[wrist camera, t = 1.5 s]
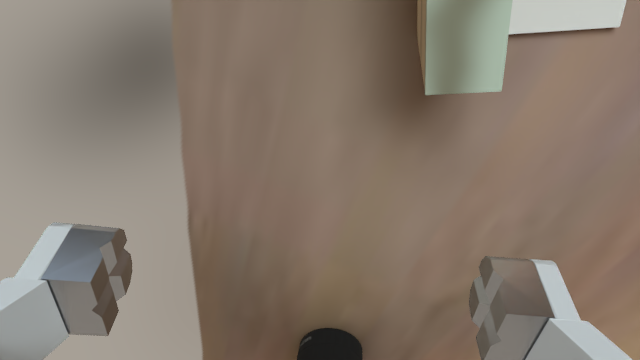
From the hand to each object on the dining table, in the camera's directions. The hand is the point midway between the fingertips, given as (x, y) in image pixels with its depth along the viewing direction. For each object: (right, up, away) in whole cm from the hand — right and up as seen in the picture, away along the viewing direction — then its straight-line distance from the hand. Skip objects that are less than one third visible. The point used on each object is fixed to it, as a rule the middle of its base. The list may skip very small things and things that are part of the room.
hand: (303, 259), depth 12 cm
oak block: (+10, +19, +27) cm, 34 cm away
